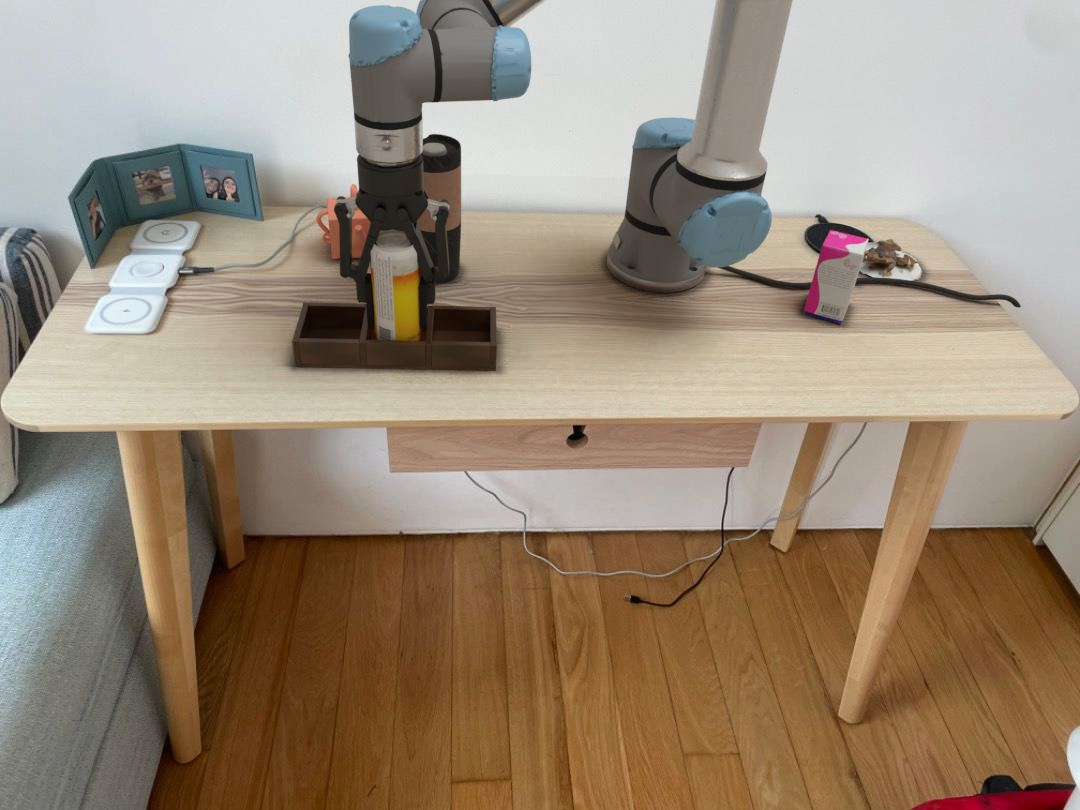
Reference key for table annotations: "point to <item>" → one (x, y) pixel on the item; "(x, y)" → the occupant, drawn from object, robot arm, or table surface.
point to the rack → (349, 343)
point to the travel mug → (442, 196)
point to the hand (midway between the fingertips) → (397, 322)
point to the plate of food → (889, 262)
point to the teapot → (358, 227)
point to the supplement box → (835, 276)
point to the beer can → (395, 288)
